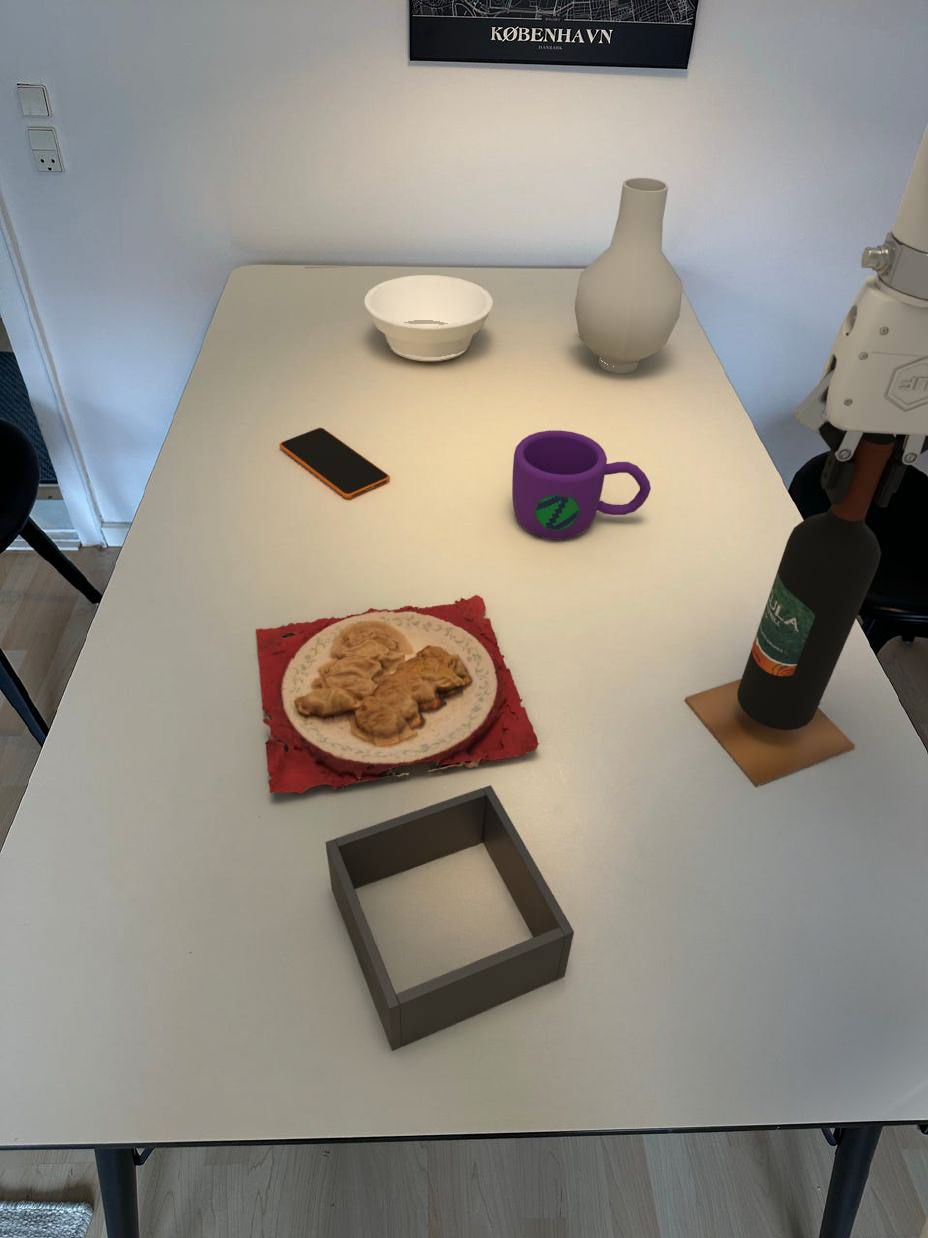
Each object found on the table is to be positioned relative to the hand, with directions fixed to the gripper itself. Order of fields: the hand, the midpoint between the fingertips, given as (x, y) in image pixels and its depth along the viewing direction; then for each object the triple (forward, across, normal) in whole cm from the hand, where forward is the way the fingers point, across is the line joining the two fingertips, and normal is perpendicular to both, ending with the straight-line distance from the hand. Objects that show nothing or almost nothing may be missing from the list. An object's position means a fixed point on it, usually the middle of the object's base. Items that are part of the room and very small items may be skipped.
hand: (854, 494), depth 73 cm
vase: (+28, -10, +78) cm, 84 cm away
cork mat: (+28, 0, 0) cm, 28 cm away
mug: (+28, -18, +33) cm, 47 cm away
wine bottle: (+25, 0, 0) cm, 25 cm away
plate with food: (+28, -39, +2) cm, 48 cm away
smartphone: (+28, -51, +44) cm, 73 cm away
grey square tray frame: (+28, -31, -25) cm, 49 cm away
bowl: (+28, -41, +81) cm, 95 cm away
